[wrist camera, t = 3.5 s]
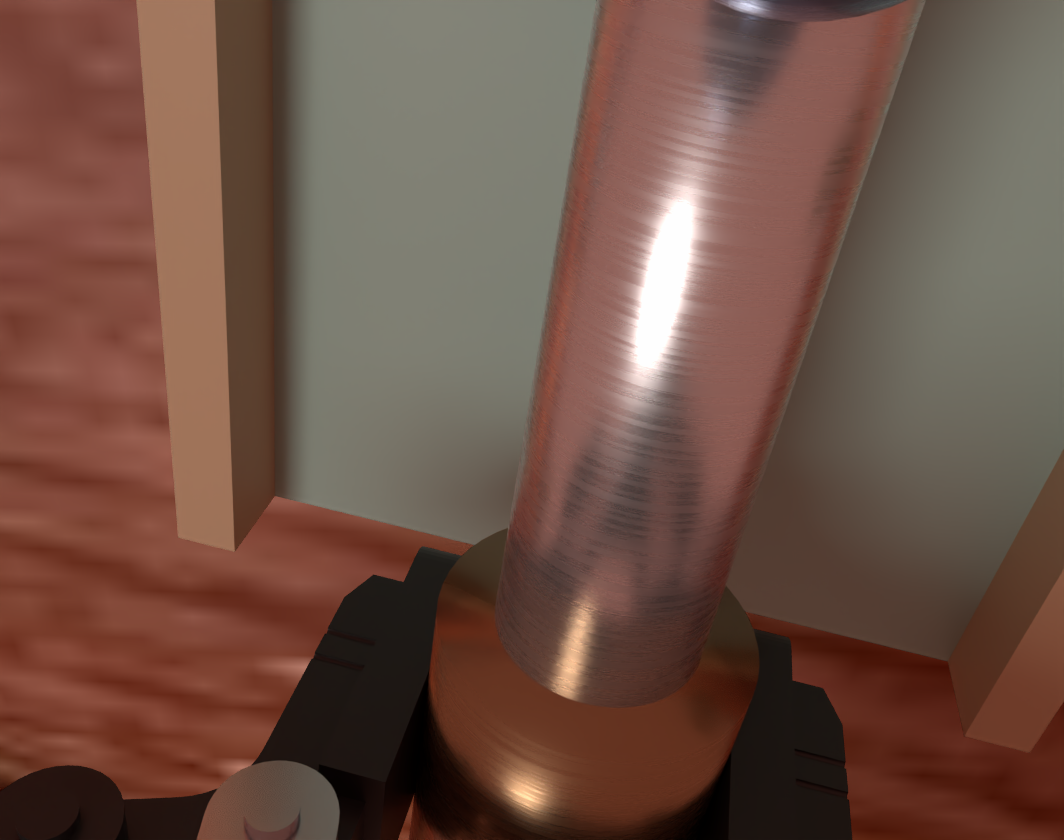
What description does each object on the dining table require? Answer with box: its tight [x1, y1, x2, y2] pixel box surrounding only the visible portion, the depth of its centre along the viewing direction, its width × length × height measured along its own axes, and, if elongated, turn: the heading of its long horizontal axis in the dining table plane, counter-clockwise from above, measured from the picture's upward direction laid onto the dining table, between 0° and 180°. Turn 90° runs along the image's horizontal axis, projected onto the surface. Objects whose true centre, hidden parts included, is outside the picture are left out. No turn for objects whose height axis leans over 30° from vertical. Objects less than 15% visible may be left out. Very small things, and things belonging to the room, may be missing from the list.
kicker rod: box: [409, 0, 926, 840], centre depth 10 cm, size 3×14×8 cm, turn 172°
